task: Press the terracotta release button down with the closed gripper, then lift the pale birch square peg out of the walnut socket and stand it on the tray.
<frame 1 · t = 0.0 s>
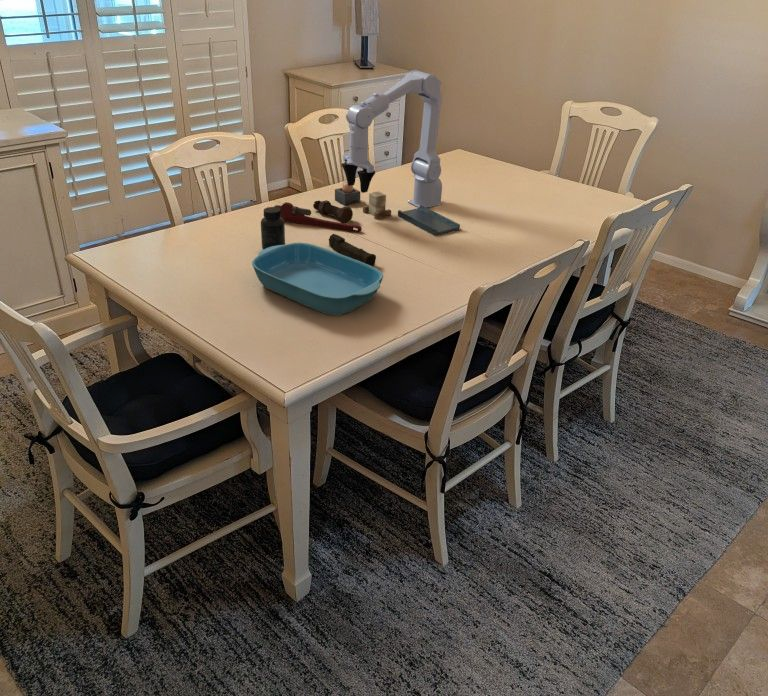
hand: (357, 188, 221), 10 cm above the table, tool pointing down, fingers open, 7 cm apart
tray: (427, 223, 225), on the table
bolt: (331, 217, 227), on the table
peg: (376, 214, 230), on the table
button housing: (347, 201, 239), on the table
supplement bottle: (273, 249, 203), on the table
hand tool: (348, 258, 200), on the table
pipe wrench: (316, 227, 219), on the table
release button: (347, 188, 237), point 4 cm above the table, slide at 0.0 cm
socket: (376, 214, 230), on the table
casserole dish: (317, 292, 181), on the table
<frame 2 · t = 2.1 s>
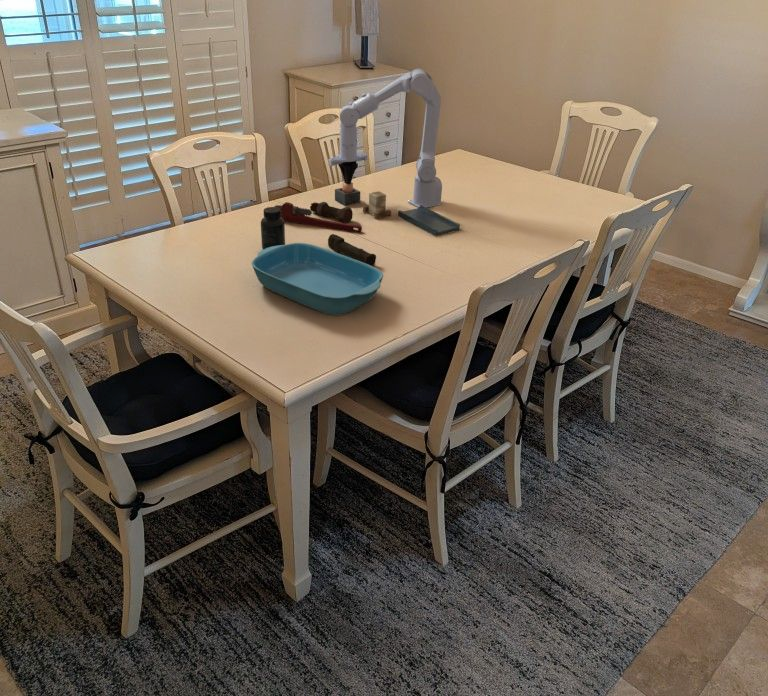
hand: (347, 183, 236), 6 cm above the table, tool pointing down, fingers closed, pressing on release button
bolt: (330, 218, 226), on the table
release button: (347, 188, 237), point 4 cm above the table, slide at 0.0 cm, touching gripper
everything else where it was.
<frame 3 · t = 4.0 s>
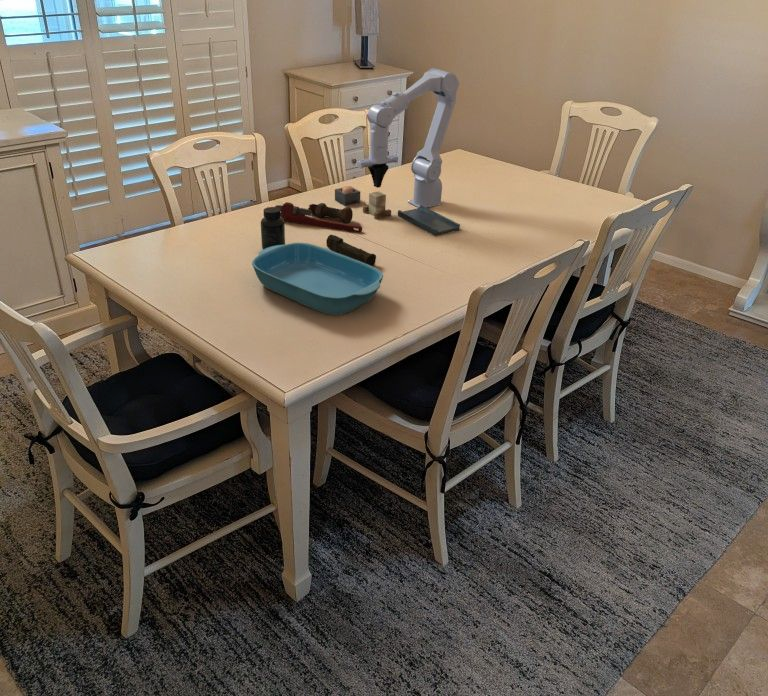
hand: (377, 186, 225), 9 cm above the table, tool pointing down, fingers closed
release button: (347, 193, 238), point 3 cm above the table, slide at 1.7 cm
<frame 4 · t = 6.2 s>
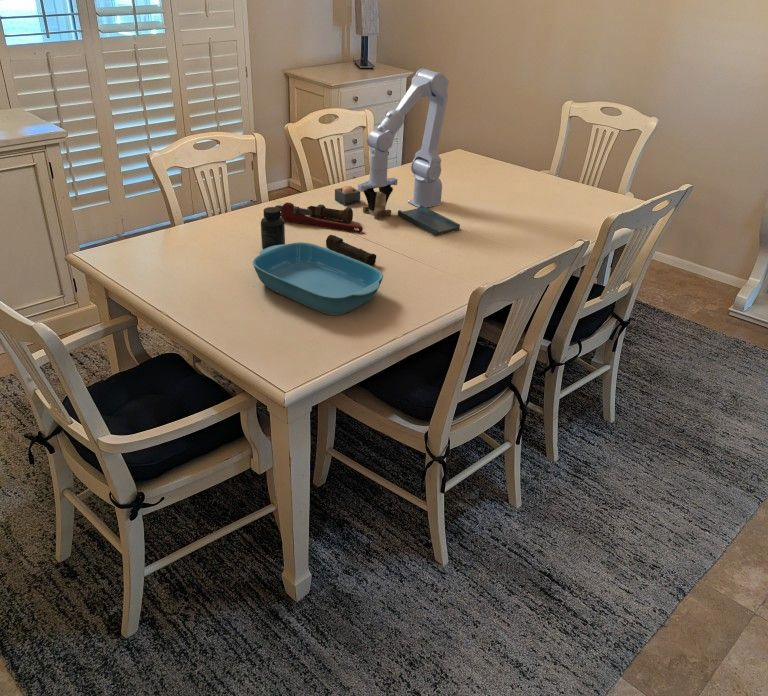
hand: (377, 208, 229), 2 cm above the table, tool pointing down, fingers closed on peg, 4 cm apart
peg: (376, 214, 230), on the table, touching gripper
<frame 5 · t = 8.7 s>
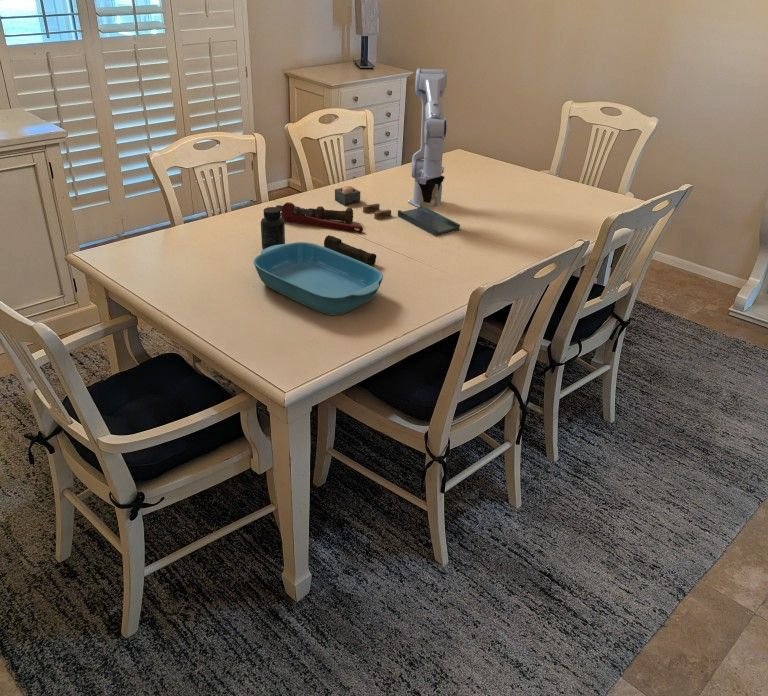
hand: (429, 200, 221), 8 cm above the table, tool pointing down, fingers closed on peg, 4 cm apart
bolt: (329, 222, 223), on the table
peg: (428, 206, 222), point 6 cm above the table, touching gripper
everything else where it was.
when the fingers open (5 cm above the table, at t = 9.6 s): peg drops 1 cm, resting on tray.
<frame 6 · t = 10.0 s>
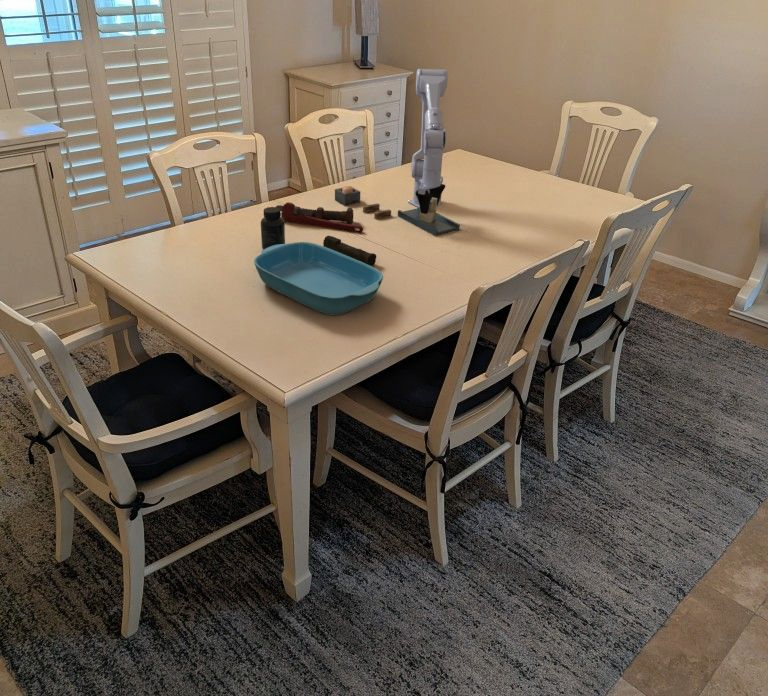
hand: (429, 209, 223), 5 cm above the table, tool pointing down, fingers open, 7 cm apart
peg: (427, 219, 224), point 1 cm above the table, touching tray
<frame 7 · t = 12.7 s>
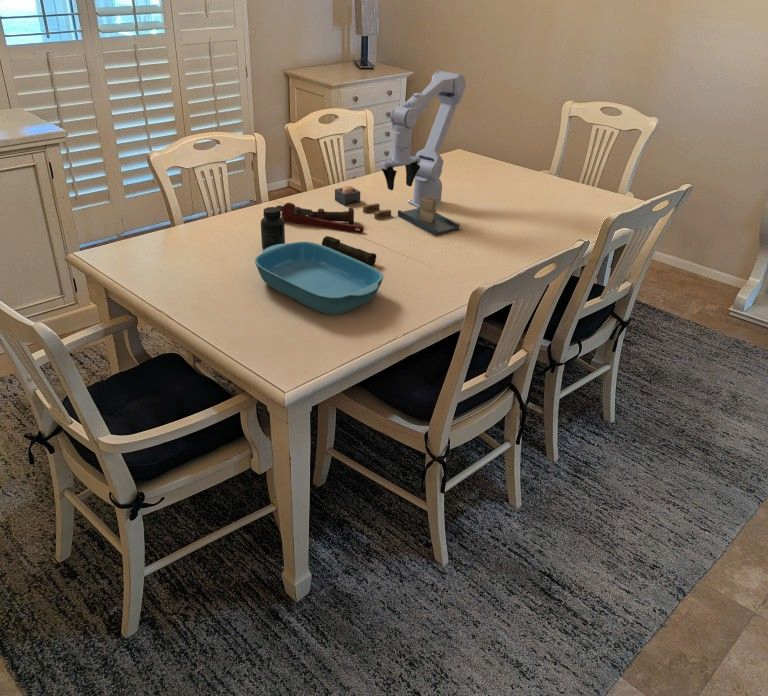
hand: (399, 187, 225), 9 cm above the table, tool pointing down, fingers open, 7 cm apart
bolt: (330, 223, 222), on the table
at the end: release button slide at 1.7 cm; peg inside the target area on the tray (0.2 cm from its centre), point 1.2 cm above the tray's base; the gripper is holding nothing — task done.
